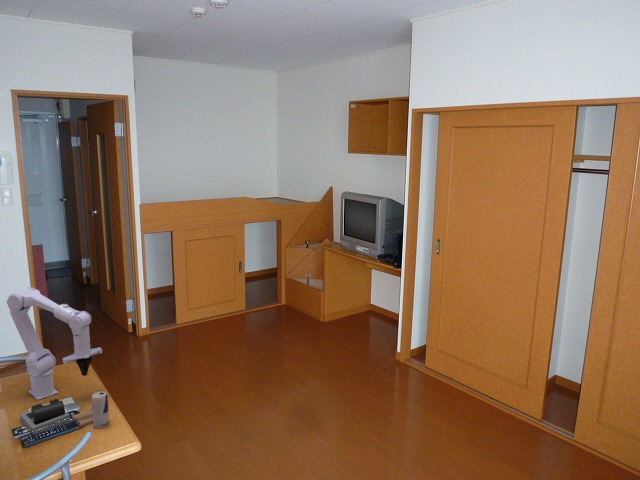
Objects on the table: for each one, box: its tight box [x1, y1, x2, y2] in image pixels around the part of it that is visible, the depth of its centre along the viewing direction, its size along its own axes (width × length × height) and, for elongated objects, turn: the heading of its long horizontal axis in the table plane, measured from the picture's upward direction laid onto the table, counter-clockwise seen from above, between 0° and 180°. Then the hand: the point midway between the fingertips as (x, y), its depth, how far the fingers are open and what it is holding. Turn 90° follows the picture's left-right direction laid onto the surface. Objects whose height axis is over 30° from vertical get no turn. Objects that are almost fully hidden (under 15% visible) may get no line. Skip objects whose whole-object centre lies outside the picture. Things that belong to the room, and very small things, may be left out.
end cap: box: [30, 398, 66, 425], centre depth 183 cm, size 10×7×7 cm
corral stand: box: [19, 403, 71, 435], centre depth 183 cm, size 13×12×2 cm
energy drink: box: [91, 390, 110, 429], centre depth 181 cm, size 5×5×12 cm
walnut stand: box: [71, 408, 93, 428], centre depth 185 cm, size 8×8×1 cm
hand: (84, 374), depth 197 cm, fingers closed
